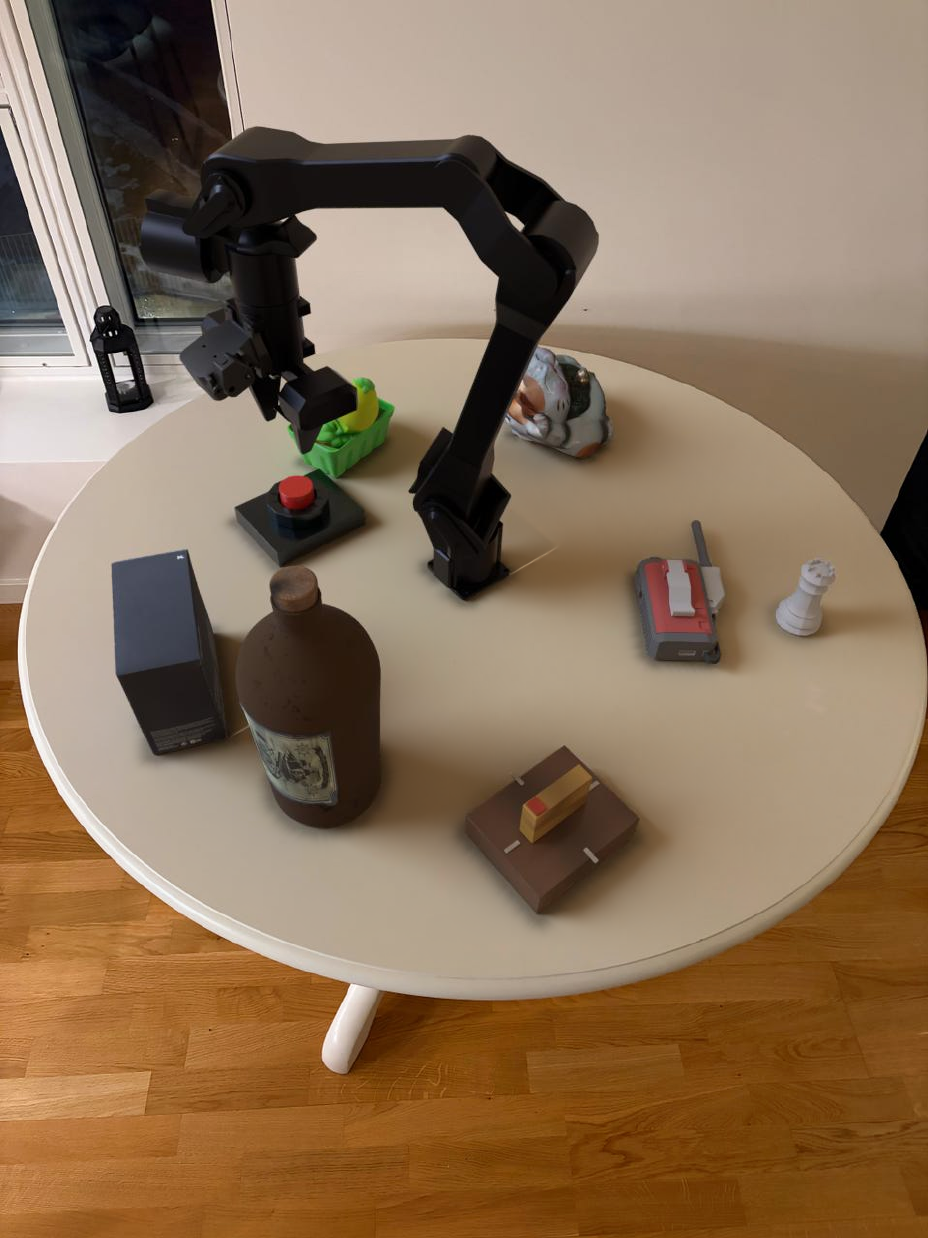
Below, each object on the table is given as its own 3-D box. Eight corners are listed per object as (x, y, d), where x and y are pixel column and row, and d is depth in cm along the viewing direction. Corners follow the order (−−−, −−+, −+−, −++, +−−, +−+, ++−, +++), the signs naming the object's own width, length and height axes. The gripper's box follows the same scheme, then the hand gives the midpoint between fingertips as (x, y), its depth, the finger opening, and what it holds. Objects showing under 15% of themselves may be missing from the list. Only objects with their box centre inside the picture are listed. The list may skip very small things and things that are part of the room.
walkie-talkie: (737, 672, 87) (702, 530, 100) (749, 643, 84) (711, 500, 97) (647, 670, 87) (623, 528, 100) (655, 641, 84) (630, 498, 97)
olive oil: (302, 714, 83) (263, 510, 64) (407, 751, 80) (399, 551, 62) (242, 809, 76) (178, 614, 57) (355, 853, 74) (328, 664, 55)
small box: (142, 646, 88) (108, 559, 79) (214, 632, 89) (189, 545, 80) (150, 758, 79) (114, 674, 70) (229, 740, 81) (203, 656, 72)
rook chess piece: (820, 641, 90) (847, 587, 84) (774, 634, 91) (798, 579, 85) (817, 609, 93) (843, 554, 87) (773, 602, 93) (796, 546, 87)
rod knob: (573, 789, 75) (579, 762, 72) (586, 803, 74) (593, 775, 71) (518, 830, 72) (522, 803, 69) (532, 844, 71) (536, 818, 68)
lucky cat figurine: (621, 461, 108) (594, 396, 96) (526, 490, 111) (489, 430, 99) (600, 363, 114) (572, 289, 102) (510, 392, 117) (473, 325, 105)
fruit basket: (351, 417, 113) (344, 336, 104) (407, 444, 109) (404, 363, 101) (288, 463, 106) (275, 381, 98) (345, 493, 103) (337, 411, 95)
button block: (321, 482, 104) (317, 455, 101) (365, 524, 100) (363, 497, 97) (237, 521, 100) (231, 494, 97) (279, 568, 95) (274, 540, 92)
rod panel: (556, 758, 80) (559, 739, 78) (639, 841, 75) (645, 822, 73) (460, 827, 76) (461, 808, 73) (541, 920, 70) (545, 903, 68)
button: (303, 483, 99) (301, 470, 97) (321, 500, 97) (319, 488, 95) (274, 496, 97) (272, 483, 96) (292, 514, 95) (290, 501, 94)
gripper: (132, 275, 80) (171, 420, 92) (238, 371, 71) (266, 518, 82) (243, 240, 85) (266, 382, 97) (356, 325, 75) (366, 471, 87)
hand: (287, 435), depth 91 cm, fingers open, 6 cm apart
